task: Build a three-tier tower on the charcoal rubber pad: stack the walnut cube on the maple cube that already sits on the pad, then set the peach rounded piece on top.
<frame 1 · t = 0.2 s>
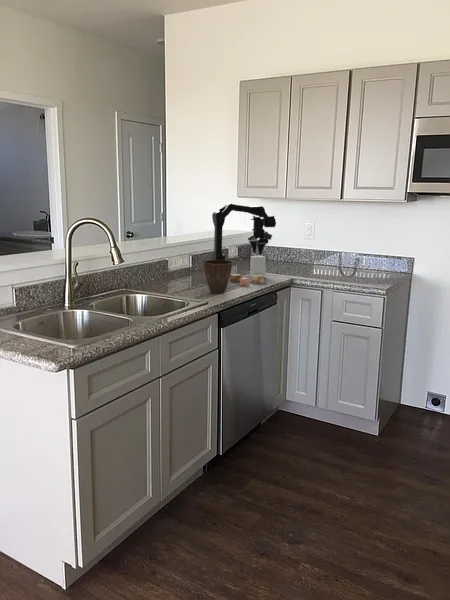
hand: (257, 253, 304), 14 cm above the worktop, tool pointing down, fingers open, 9 cm apart
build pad: (257, 283, 290), on the worktop
walnut cube: (235, 281, 295), on the worktop
supplement box: (257, 277, 308), on the worktop
maple cube: (257, 282, 290), resting on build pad
plant pot: (217, 292, 266), on the worktop
peach rounded piece: (244, 285, 283), on the worktop
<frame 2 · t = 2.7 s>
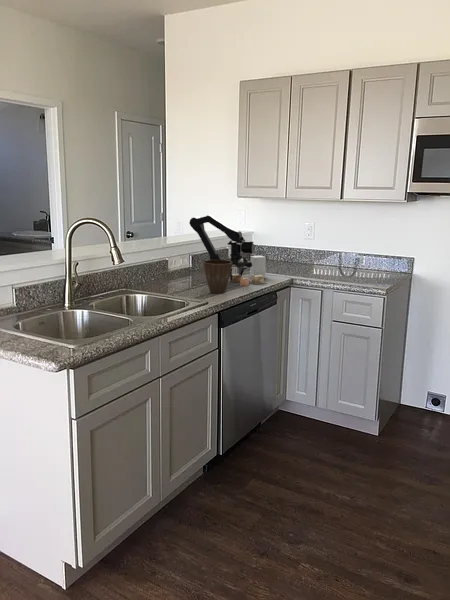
hand: (235, 279, 294), 1 cm above the worktop, tool pointing down, fingers closed on walnut cube, 5 cm apart
walnut cube: (235, 281, 294), on the worktop, touching gripper
everything else where it was.
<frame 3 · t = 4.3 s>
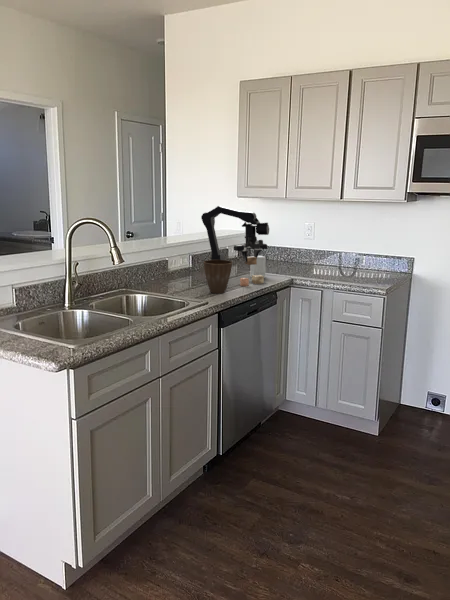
hand: (250, 262, 289), 12 cm above the worktop, tool pointing down, fingers closed on walnut cube, 5 cm apart
walnut cube: (250, 264, 289), point 11 cm above the worktop, touching gripper
everything else where it was.
when the fingers open (6 cm above the worktop, at t = 5.8 s): walnut cube drops 1 cm, resting on maple cube.
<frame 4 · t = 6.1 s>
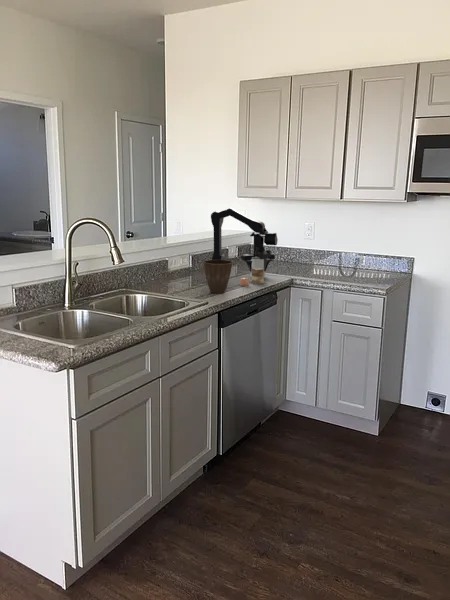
hand: (257, 272, 288), 6 cm above the worktop, tool pointing down, fingers open, 8 cm apart
walnut cube: (257, 275, 289), point 4 cm above the worktop, touching maple cube
maple cube: (257, 282, 290), resting on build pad, touching walnut cube
everything else where it was.
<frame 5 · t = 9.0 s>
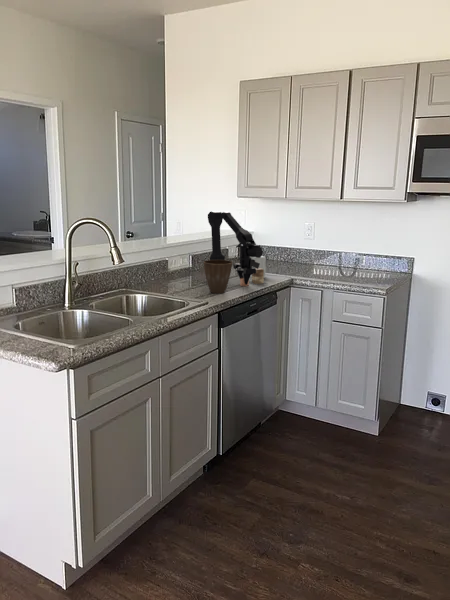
hand: (244, 283, 282), 1 cm above the worktop, tool pointing down, fingers closed on peach rounded piece, 5 cm apart
peach rounded piece: (244, 285, 283), on the worktop, touching gripper
everything else where it was.
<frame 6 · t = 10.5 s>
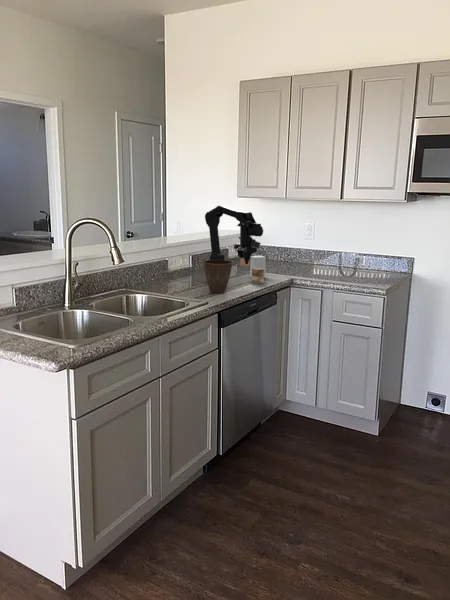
hand: (244, 263, 280), 12 cm above the worktop, tool pointing down, fingers closed on peach rounded piece, 5 cm apart
peach rounded piece: (244, 265, 280), point 11 cm above the worktop, touching gripper
everything else where it was.
when the fingers open (10 cm above the worktop, at t = 12.0 s): peach rounded piece drops 1 cm, resting on walnut cube.
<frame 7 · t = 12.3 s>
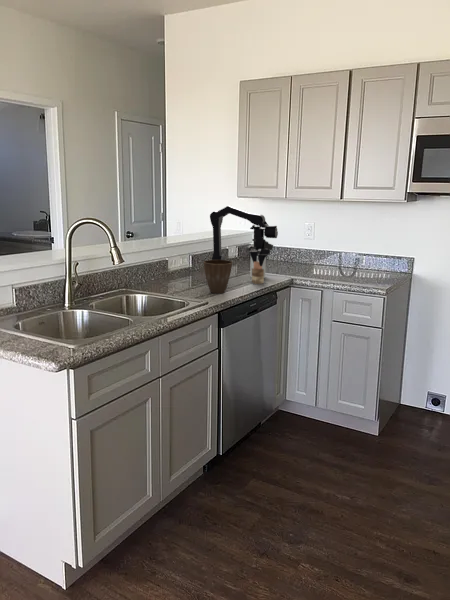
hand: (258, 265, 288), 10 cm above the worktop, tool pointing down, fingers open, 8 cm apart
walnut cube: (257, 275, 289), point 4 cm above the worktop, touching maple cube, peach rounded piece
peach rounded piece: (257, 268, 288), point 8 cm above the worktop, touching walnut cube
everything else where it was.
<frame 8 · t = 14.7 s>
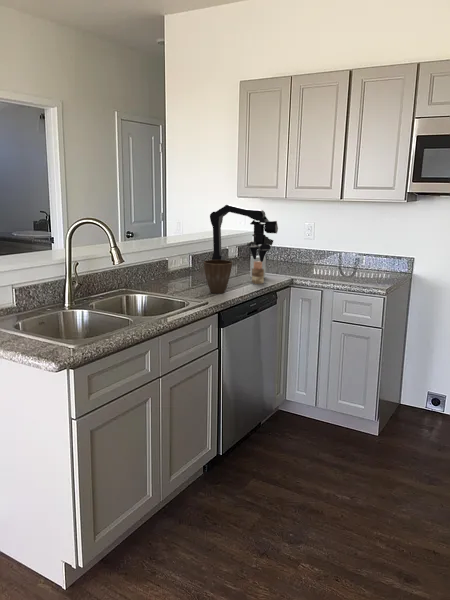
hand: (258, 260, 287), 13 cm above the worktop, tool pointing down, fingers open, 9 cm apart
nothing on the worktop moved.
at the end: walnut cube 0.1 cm off-centre on the maple cube, point 4.0 cm above the maple cube's base; peach rounded piece 0.1 cm off-centre on the maple cube, point 8.0 cm above the maple cube's base; the gripper is holding nothing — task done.
